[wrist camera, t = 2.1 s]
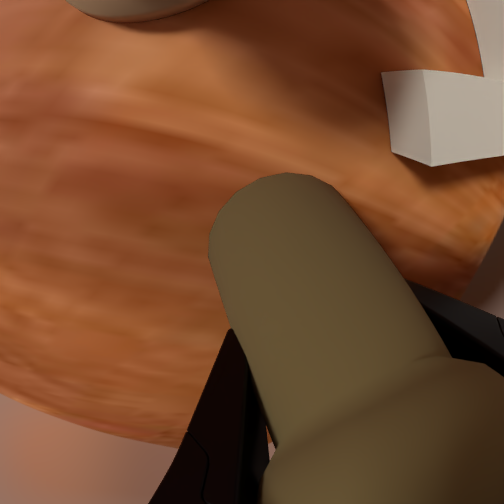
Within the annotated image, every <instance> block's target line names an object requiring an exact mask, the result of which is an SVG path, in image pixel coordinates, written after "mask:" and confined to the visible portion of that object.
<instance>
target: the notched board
mask: <svg viewBox="0 0 504 504" xmlns="http://www.w3.org/2000/svg"><path fill="white" fill-rule="evenodd" d="M467 4H468V7H469V10H470V13H471V17H472V20H473V24H474V28H475V32H476V36H477V41H478V45H479V50H480V55H481V61H482V66H483V73H484V77H478V76H472V75H466V74H459V73H452V72H444V71H434V70H403V71H390V72H381V75H382V80H383V86H384V92H385V99H386V106H387V113H388V122H389V131H390V141H391V152H393V153H396V154H399V155H402V156H405V157H408V158H410V159H413V160H416V161H418V162H421V163H423V164H426V165H429V166H431V167H433V166H438V165H444V164H450V163H456V162H463V161H469V160H476V159H483V158H490V157H497V156H504V0H467Z"/></svg>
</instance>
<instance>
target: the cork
mask: <svg viewBox="0 0 504 504" xmlns="http://www.w3.org/2000/svg"><path fill="white" fill-rule="evenodd" d="M208 258H209V261H210V264H211V267H212V270H213V274H214V277H215V280H216V283H217V286H218V289H219V293H220V296H221V299H222V302H223V305H224V308H225V311H226V314H227V317H228V320H229V323H230V326H231V328H232V329H233V330H234V332H235V334H236V336H237V338H238V340H239V342H240V344H241V346H242V348H243V350H244V353H245V355H246V357H247V360H248V365H249V372H250V379H251V385H252V389H253V391H254V394H255V397H256V400H257V402H258V405H259V408H260V410H261V413H262V416H263V418H264V421H265V423H266V426H267V429H268V431H269V434H270V436H271V439H272V441H273V444H274V446H275V449H276V451H275V453H274V455H273V457H272V458H271V460H270V462H269V464H268V466H267V468H266V470H265V471H264V473H263V475H262V477H261V479H260V481H259V487H258V496H257V504H504V377H503V376H502V375H500V374H499V373H497V372H496V371H494V370H493V369H491V368H490V367H489V366H487V365H486V364H484V363H478V362H472V361H466V360H461V359H455V358H452V357H451V355H450V353H449V351H448V349H447V347H446V346H445V344H444V342H443V340H442V339H441V337H440V335H439V334H438V332H437V330H436V328H435V327H434V325H433V323H432V322H431V320H430V318H429V317H428V315H427V314H426V312H425V310H424V309H423V307H422V306H421V304H420V302H419V301H418V299H417V298H416V296H415V295H414V293H413V292H412V290H411V289H410V287H409V286H408V284H407V283H406V281H405V280H404V278H403V277H402V275H401V274H400V272H399V271H398V269H397V268H396V267H395V265H394V264H393V262H392V261H391V260H390V258H389V257H388V255H387V254H386V253H385V251H384V250H383V248H382V247H381V246H380V244H379V243H378V242H377V240H376V239H375V238H374V236H373V235H372V234H371V232H370V231H369V230H368V228H367V227H366V226H365V225H364V223H363V222H362V221H361V219H360V218H359V217H358V216H357V214H356V213H355V212H354V211H353V209H352V208H351V207H350V206H349V204H348V203H347V202H346V201H345V200H344V199H343V198H342V196H341V195H340V194H339V193H338V192H337V191H336V190H335V189H334V188H333V187H332V186H331V185H329V184H327V183H325V182H323V181H321V180H319V179H317V178H315V177H313V176H311V175H303V174H295V173H282V174H277V175H272V176H268V177H263V178H260V179H258V180H256V181H254V182H253V183H251V184H249V185H247V186H246V187H244V188H242V189H241V190H239V191H237V192H236V193H235V194H234V195H233V197H232V198H231V199H230V200H229V201H228V202H227V203H226V204H225V205H224V207H223V208H222V209H221V210H220V211H219V213H218V215H217V218H216V220H215V222H214V225H213V227H212V229H211V232H210V234H209V252H208Z"/></svg>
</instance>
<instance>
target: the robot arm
mask: <svg viewBox="0 0 504 504" xmlns="http://www.w3.org/2000/svg"><path fill="white" fill-rule="evenodd" d="M404 280H405V281H406V283H407V284H408V286H409V287H410V289H411V290H412V292H413V293H414V295H415V296H416V298H417V299H418V301H419V302H420V304H421V306H422V307H423V309H424V310H425V312H426V314H427V315H428V317H429V318H430V320H431V322H432V323H433V325H434V327H435V328H436V330H437V332H438V334H439V335H440V337H441V339H442V340H443V342H444V344H445V346H446V347H447V349H448V351H449V353H450V355H451V357H452V358H455V359H461V360H466V361H472V362H478V363H484V364H486V365H487V366H489V367H490V368H491V369H493V370H494V371H496V372H497V373H499V374H500V375H502V376H503V377H504V319H502V318H499V317H497V318H496V316H495V315H492V314H490V313H488V312H485V311H483V310H480V309H478V308H476V307H473V306H471V305H469V304H466V303H463V302H461V301H459V300H457V299H454V298H452V297H449V296H447V295H444V294H442V293H440V292H437V291H435V290H432V289H430V288H427V287H425V286H422V285H420V284H417V283H415V282H412V281H409V280H407V279H404ZM187 431H188V432H186V433H185V435H184V438H183V440H182V442H181V445H180V447H179V449H178V452H177V454H176V456H175V458H174V460H173V462H172V464H171V466H170V468H169V469H168V471H167V473H166V475H165V476H164V478H163V480H162V482H161V483H160V485H159V487H158V489H157V490H156V492H155V493H154V495H153V497H152V498H151V500H150V502H149V503H148V504H257V496H258V487H259V481H260V479H261V477H262V475H263V473H264V471H265V470H266V468H267V466H268V464H269V462H270V460H269V451H268V441H267V432H266V423H265V421H264V418H263V416H262V413H261V410H260V408H259V405H258V402H257V400H256V397H255V394H254V391H253V389H252V385H251V379H250V372H249V365H248V360H247V357H246V355H245V353H244V350H243V348H242V346H241V344H240V342H239V340H238V338H237V336H236V334H235V332H234V330H233V329H232V328H231V329H229V330H228V331H227V334H226V336H225V339H224V341H223V343H222V346H221V348H220V351H219V353H218V356H217V358H216V361H215V363H214V365H213V368H212V370H211V373H210V375H209V378H208V380H207V382H206V385H205V387H204V390H203V392H202V395H201V397H200V399H199V402H198V404H197V407H196V409H195V411H194V414H193V416H192V419H191V421H190V424H189V426H188V428H187Z"/></svg>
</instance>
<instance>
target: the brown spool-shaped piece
mask: <svg viewBox="0 0 504 504" xmlns="http://www.w3.org/2000/svg"><path fill="white" fill-rule="evenodd" d="M66 1H67V2H68V3H69V4H71V5H72V6H74V7H75V8H77V9H78V10H80V11H81V12H83V13H85V14H86V15H88V16H91V17H93V18H96V19H99V20H103V21H108V22H117V23H133V22H144V21H150V20H156V19H160V18H164V17H168V16H172V15H175V14H178V13H181V12H184V11H187V10H189V9H191V8H194V7H196V6H198V5H200V4H202V3H204V2H206V1H208V0H66Z"/></svg>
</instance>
